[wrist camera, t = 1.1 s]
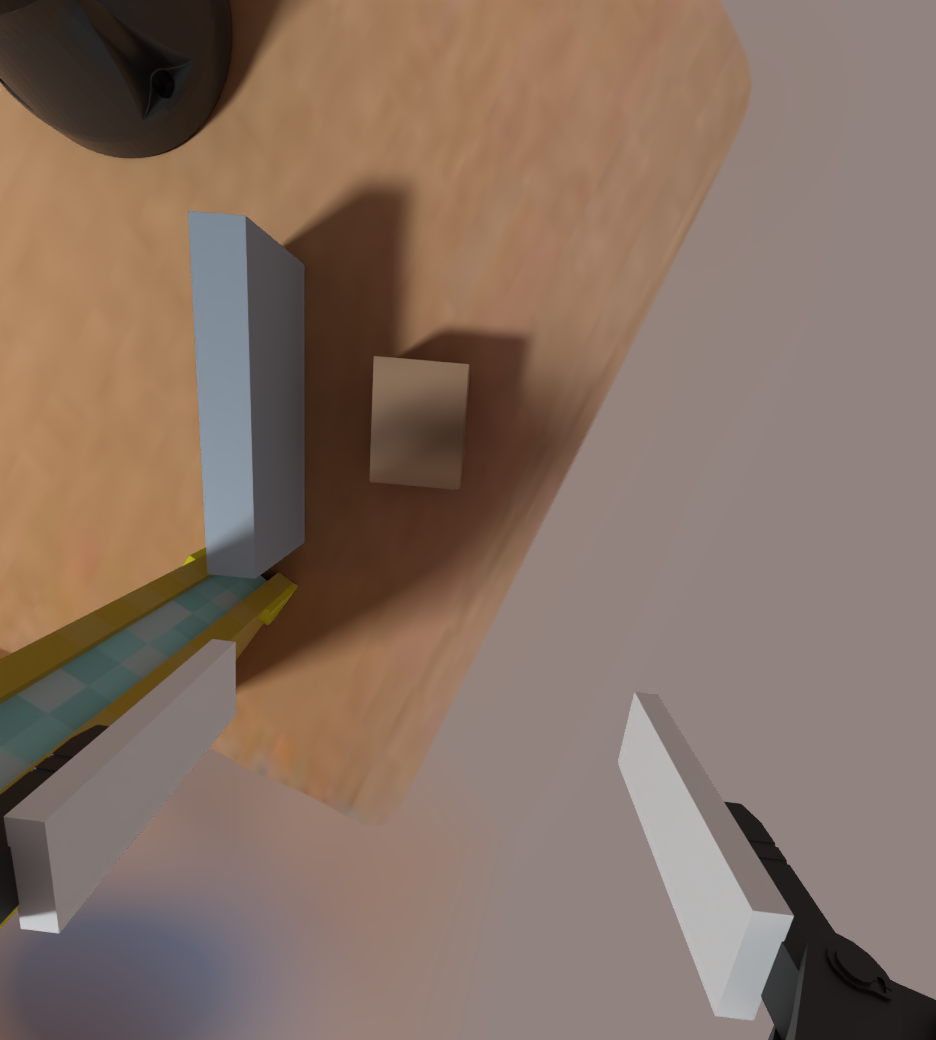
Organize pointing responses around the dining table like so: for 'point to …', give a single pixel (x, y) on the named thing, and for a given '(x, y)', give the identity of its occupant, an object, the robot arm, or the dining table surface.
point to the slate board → (249, 392)
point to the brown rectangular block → (418, 422)
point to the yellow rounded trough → (122, 657)
